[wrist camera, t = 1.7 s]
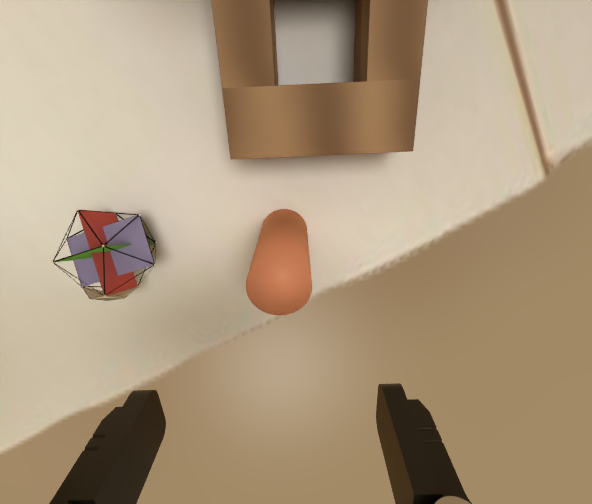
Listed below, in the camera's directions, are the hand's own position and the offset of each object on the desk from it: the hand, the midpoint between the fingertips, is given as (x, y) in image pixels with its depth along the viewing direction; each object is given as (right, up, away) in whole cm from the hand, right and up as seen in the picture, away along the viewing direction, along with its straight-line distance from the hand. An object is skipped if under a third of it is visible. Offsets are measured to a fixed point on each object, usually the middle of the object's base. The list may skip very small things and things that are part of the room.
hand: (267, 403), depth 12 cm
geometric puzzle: (-14, +7, +17) cm, 23 cm away
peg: (0, +7, +17) cm, 19 cm away
